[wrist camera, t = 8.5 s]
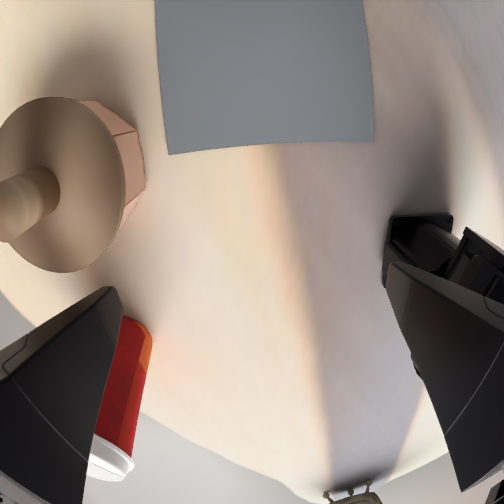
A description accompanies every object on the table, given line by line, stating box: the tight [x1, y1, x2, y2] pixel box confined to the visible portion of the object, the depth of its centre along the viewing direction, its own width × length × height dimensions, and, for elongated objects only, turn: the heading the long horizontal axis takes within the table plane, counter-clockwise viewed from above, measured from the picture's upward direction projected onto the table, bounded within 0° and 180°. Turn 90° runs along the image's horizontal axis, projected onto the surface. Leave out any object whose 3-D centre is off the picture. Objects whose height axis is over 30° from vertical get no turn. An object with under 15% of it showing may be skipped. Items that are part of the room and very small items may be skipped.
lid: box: [0, 97, 126, 273], centre depth 12 cm, size 11×11×5 cm
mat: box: [155, 0, 374, 155], centre depth 16 cm, size 14×14×1 cm
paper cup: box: [86, 316, 152, 481], centre depth 20 cm, size 8×8×14 cm
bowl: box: [77, 101, 146, 232], centre depth 17 cm, size 10×10×5 cm
